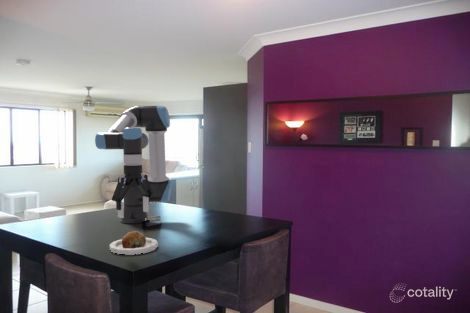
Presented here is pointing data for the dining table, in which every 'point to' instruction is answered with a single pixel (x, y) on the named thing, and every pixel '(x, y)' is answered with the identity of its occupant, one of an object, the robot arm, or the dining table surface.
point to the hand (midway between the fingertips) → (133, 214)
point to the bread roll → (133, 240)
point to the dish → (118, 248)
